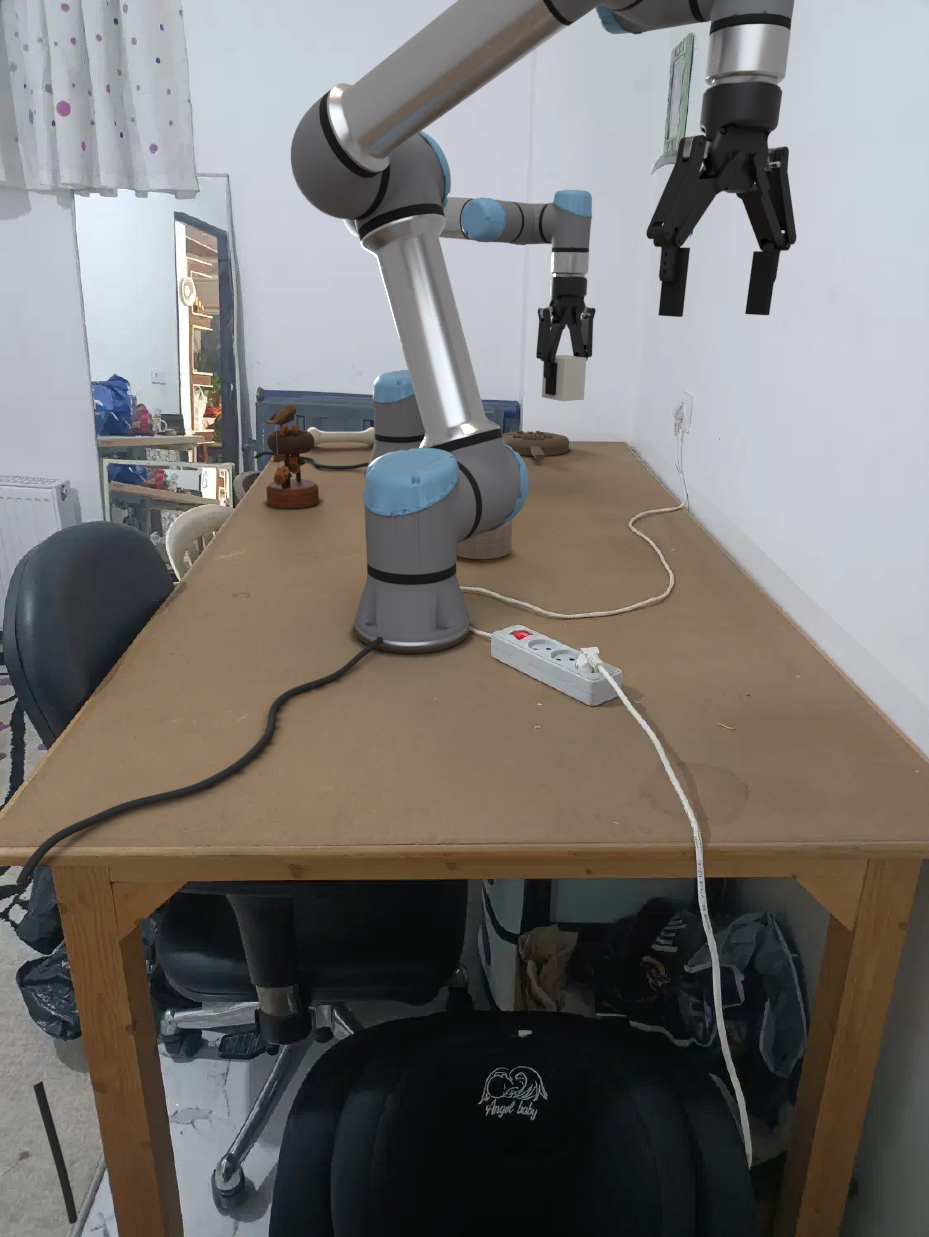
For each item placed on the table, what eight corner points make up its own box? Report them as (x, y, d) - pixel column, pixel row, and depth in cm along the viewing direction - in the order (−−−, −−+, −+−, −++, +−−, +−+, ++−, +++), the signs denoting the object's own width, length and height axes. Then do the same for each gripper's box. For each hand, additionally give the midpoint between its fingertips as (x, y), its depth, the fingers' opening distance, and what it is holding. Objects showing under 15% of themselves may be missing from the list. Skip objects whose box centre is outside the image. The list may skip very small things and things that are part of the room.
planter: (440, 545, 148) (440, 491, 144) (498, 541, 151) (500, 488, 148) (458, 564, 139) (459, 507, 135) (520, 559, 142) (522, 503, 138)
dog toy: (379, 443, 235) (378, 424, 233) (380, 447, 230) (380, 428, 228) (305, 444, 232) (304, 425, 230) (305, 448, 226) (304, 429, 225)
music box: (311, 511, 168) (297, 408, 160) (258, 513, 169) (241, 411, 162) (331, 492, 182) (318, 397, 174) (282, 494, 183) (267, 400, 176)
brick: (562, 395, 184) (564, 355, 181) (583, 399, 178) (586, 357, 175) (541, 397, 181) (543, 356, 178) (562, 401, 176) (565, 358, 172)
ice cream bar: (498, 464, 211) (498, 448, 209) (490, 443, 237) (490, 428, 235) (581, 465, 212) (583, 448, 210) (564, 444, 238) (565, 429, 236)
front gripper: (792, 106, 92) (762, 312, 100) (622, 76, 80) (604, 315, 88) (853, 96, 87) (817, 315, 95) (681, 61, 74) (657, 318, 82)
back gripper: (592, 276, 178) (584, 389, 187) (520, 275, 169) (516, 394, 178) (616, 276, 173) (607, 393, 181) (543, 275, 163) (538, 398, 172)
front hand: (715, 315), depth 91 cm, fingers open, 13 cm apart
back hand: (562, 393), depth 180 cm, fingers closed on brick, 6 cm apart
